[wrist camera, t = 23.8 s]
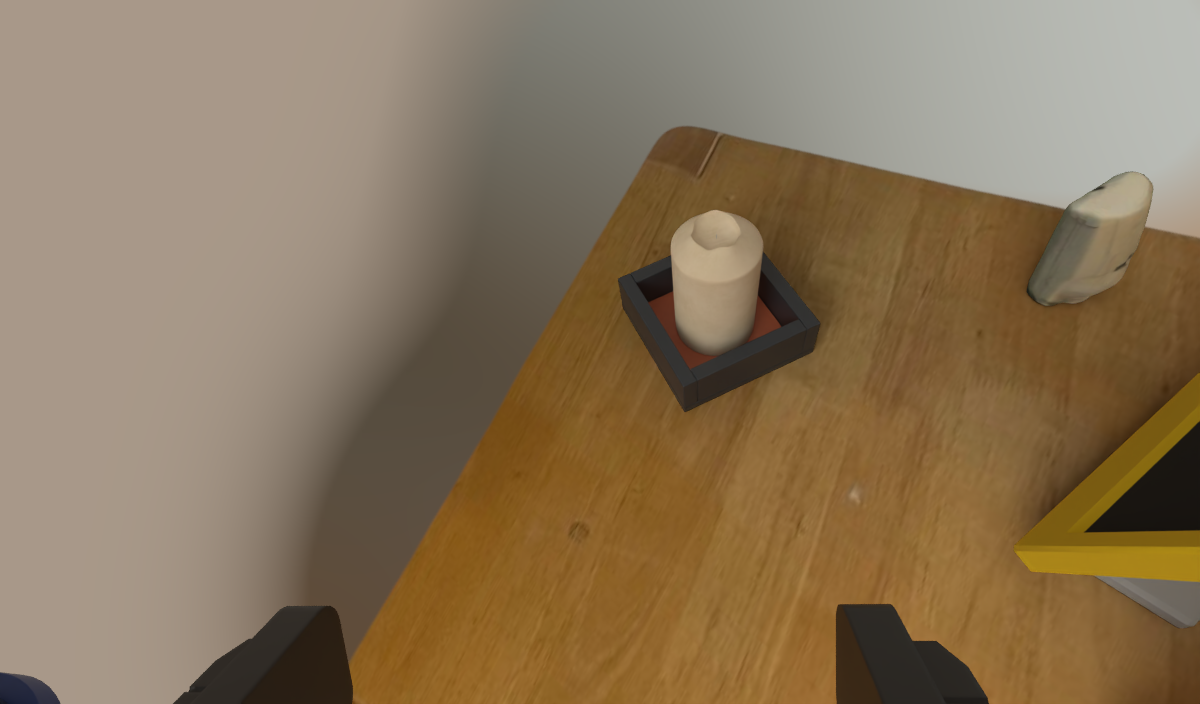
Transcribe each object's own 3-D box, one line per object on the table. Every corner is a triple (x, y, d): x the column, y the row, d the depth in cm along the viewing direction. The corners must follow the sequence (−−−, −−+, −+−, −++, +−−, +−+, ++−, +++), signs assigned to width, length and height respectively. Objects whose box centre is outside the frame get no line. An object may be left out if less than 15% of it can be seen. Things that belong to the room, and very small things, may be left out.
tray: (684, 412, 44) (683, 387, 41) (622, 307, 49) (617, 278, 46) (812, 352, 45) (821, 323, 42) (738, 255, 50) (741, 223, 47)
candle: (767, 340, 45) (782, 245, 36) (694, 368, 44) (692, 278, 36) (733, 283, 48) (739, 183, 39) (664, 308, 47) (655, 213, 39)
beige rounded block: (1024, 240, 47) (1078, 155, 40) (1107, 257, 46) (1177, 171, 39) (1014, 300, 45) (1069, 220, 38) (1101, 320, 43) (1174, 240, 36)
